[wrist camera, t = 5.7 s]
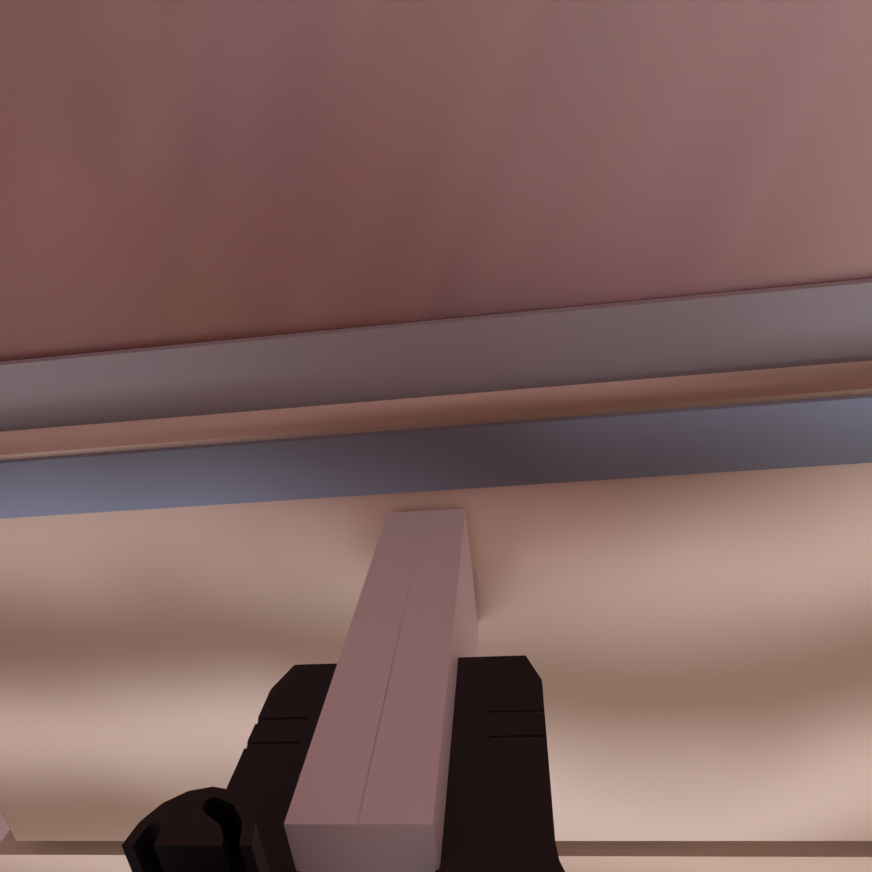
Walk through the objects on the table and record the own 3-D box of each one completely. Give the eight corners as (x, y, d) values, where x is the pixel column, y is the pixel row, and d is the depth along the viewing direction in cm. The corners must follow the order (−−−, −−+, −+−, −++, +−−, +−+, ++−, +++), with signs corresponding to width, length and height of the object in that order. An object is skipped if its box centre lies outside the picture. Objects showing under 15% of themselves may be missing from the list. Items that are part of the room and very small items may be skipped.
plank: (-120, 440, 15) (-186, 472, 13) (1341, 322, 11) (1464, 346, 10) (49, 794, 19) (12, 846, 17) (1149, 784, 15) (1215, 847, 14)
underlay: (-174, 377, 15) (-191, 383, 15) (1418, 225, 11) (1450, 227, 11) (89, 949, 22) (82, 963, 22) (1119, 972, 18) (1132, 988, 18)
